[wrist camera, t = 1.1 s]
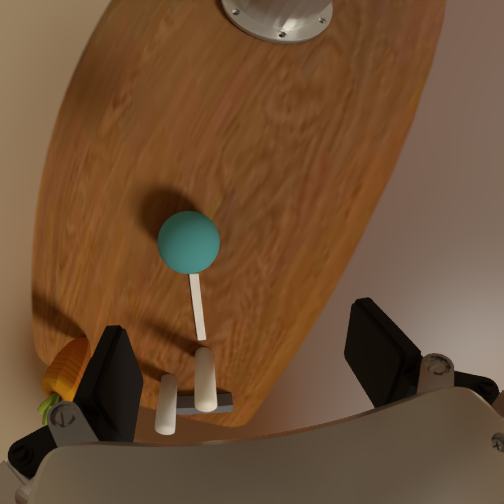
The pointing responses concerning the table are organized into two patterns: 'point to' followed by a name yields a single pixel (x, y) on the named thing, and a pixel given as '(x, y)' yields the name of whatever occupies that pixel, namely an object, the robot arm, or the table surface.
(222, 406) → the wall
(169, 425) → the white cylinder rod
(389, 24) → the table surface
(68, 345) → the carrot
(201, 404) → the ivory pin
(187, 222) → the ball
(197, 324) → the lane line
